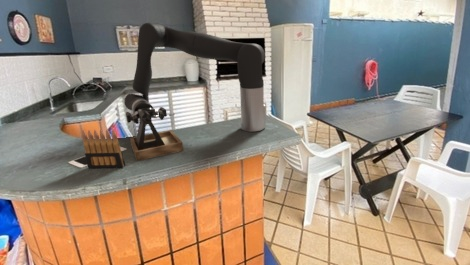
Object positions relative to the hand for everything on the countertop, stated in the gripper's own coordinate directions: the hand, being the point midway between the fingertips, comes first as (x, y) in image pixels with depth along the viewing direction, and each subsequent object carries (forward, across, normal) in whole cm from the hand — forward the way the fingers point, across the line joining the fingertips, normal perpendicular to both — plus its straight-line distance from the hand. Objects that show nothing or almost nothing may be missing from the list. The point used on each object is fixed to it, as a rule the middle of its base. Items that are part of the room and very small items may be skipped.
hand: (149, 119), depth 88 cm
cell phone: (0, -18, +10) cm, 21 cm away
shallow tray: (+4, 0, +10) cm, 11 cm away
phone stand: (+4, -2, +9) cm, 10 cm away
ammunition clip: (+11, -16, +10) cm, 22 cm away
